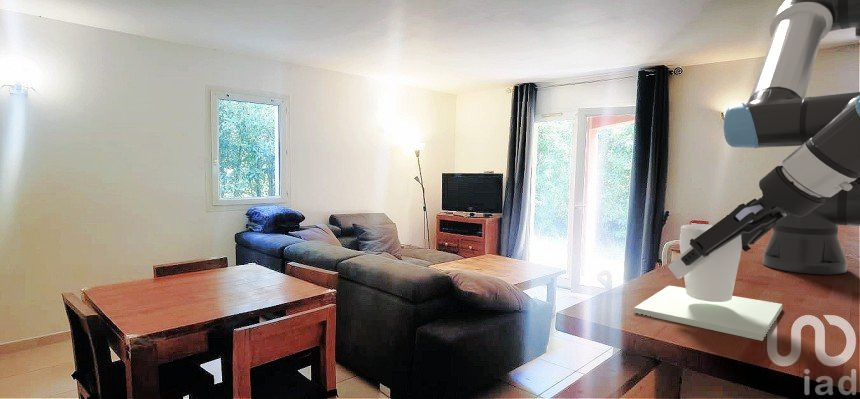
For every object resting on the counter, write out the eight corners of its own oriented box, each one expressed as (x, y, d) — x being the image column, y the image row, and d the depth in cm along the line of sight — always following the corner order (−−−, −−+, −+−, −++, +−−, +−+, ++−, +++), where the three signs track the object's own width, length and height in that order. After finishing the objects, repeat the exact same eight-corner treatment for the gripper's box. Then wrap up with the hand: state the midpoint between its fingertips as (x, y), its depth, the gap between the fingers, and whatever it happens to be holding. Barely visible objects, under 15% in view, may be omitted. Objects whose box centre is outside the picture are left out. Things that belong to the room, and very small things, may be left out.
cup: (751, 305, 70) (753, 231, 69) (689, 303, 72) (691, 231, 71) (725, 289, 79) (727, 224, 78) (671, 288, 81) (672, 224, 80)
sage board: (668, 290, 88) (669, 285, 88) (782, 309, 76) (782, 304, 76) (634, 313, 76) (634, 307, 76) (762, 341, 63) (762, 334, 63)
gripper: (789, 206, 55) (667, 297, 71) (857, 195, 66) (738, 277, 81) (744, 164, 60) (638, 259, 75) (814, 161, 70) (709, 244, 85)
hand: (690, 268), depth 78 cm, fingers closed on cup, 9 cm apart
